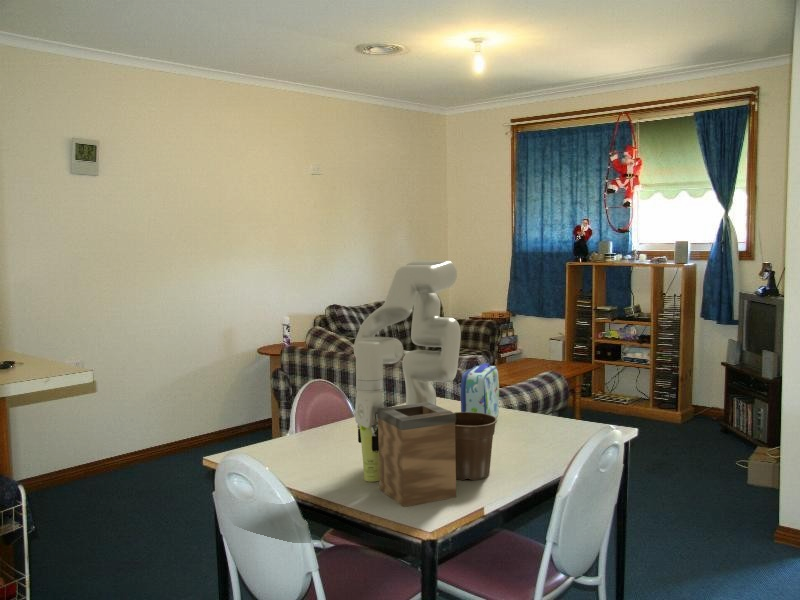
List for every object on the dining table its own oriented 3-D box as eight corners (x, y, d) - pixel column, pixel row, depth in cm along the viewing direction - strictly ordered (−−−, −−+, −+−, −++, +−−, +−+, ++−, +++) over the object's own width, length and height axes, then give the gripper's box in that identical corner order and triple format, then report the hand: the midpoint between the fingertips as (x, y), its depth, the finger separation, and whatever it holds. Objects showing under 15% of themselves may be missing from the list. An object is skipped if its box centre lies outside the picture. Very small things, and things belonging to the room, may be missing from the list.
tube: (367, 484, 203) (365, 414, 201) (358, 479, 207) (357, 410, 206) (385, 480, 206) (383, 411, 204) (376, 475, 210) (374, 407, 209)
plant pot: (508, 472, 210) (508, 417, 209) (475, 487, 198) (474, 428, 197) (463, 462, 221) (462, 409, 220) (428, 475, 209) (427, 419, 208)
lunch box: (473, 414, 280) (472, 359, 279) (501, 416, 277) (501, 360, 275) (457, 432, 256) (456, 372, 254) (488, 434, 252) (487, 373, 251)
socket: (378, 489, 199) (377, 408, 197) (429, 480, 205) (427, 402, 203) (403, 507, 185) (402, 420, 183) (456, 497, 191) (455, 413, 190)
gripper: (345, 381, 211) (346, 440, 212) (369, 391, 195) (370, 455, 196) (369, 379, 214) (370, 437, 215) (395, 389, 198) (396, 451, 199)
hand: (370, 446), depth 206 cm, fingers open, 9 cm apart
